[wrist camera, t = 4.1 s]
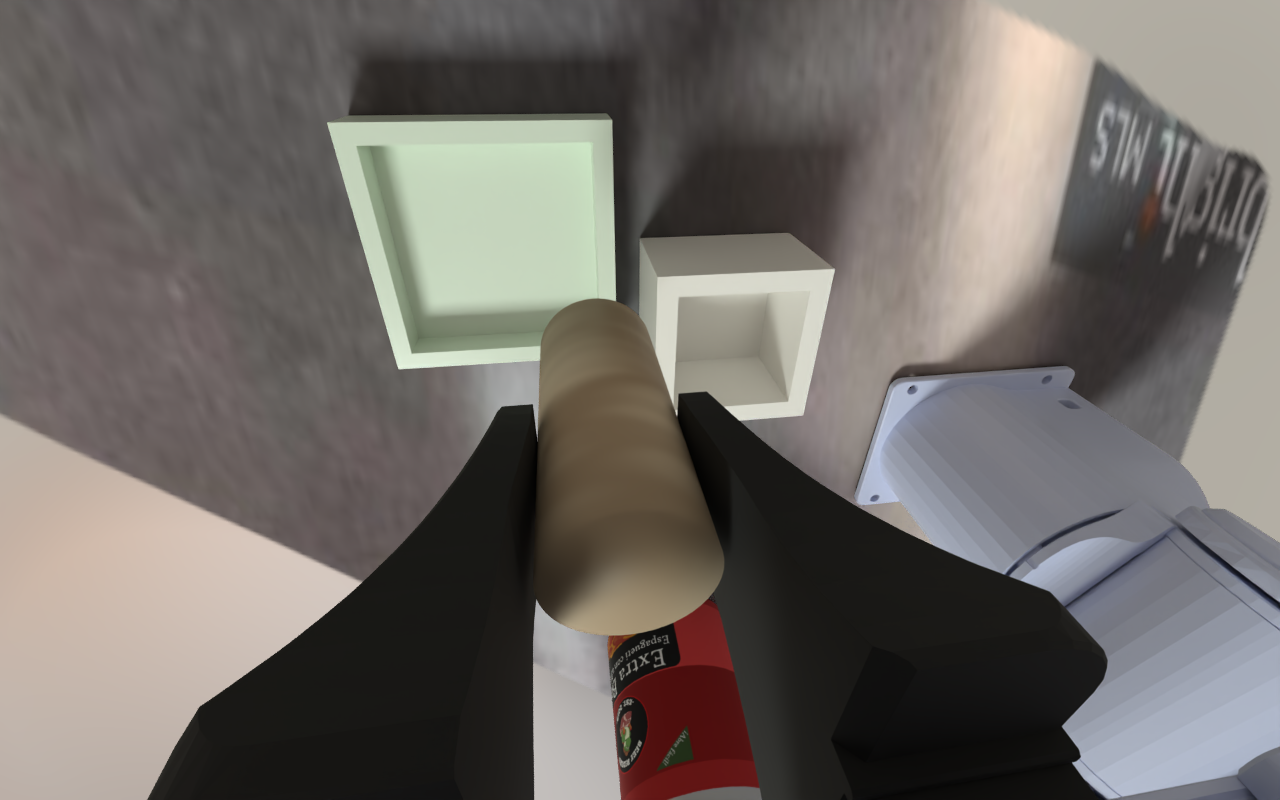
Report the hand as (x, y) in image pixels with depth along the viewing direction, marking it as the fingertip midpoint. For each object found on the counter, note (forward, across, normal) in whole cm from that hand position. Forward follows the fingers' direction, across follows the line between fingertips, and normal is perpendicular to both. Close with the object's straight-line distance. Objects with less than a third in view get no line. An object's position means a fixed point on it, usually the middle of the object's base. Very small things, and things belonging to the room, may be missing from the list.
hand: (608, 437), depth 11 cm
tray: (+11, +3, -1) cm, 11 cm away
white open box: (+10, -5, +2) cm, 12 cm away
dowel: (+4, 0, 0) cm, 4 cm away
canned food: (+11, -4, +24) cm, 27 cm away
